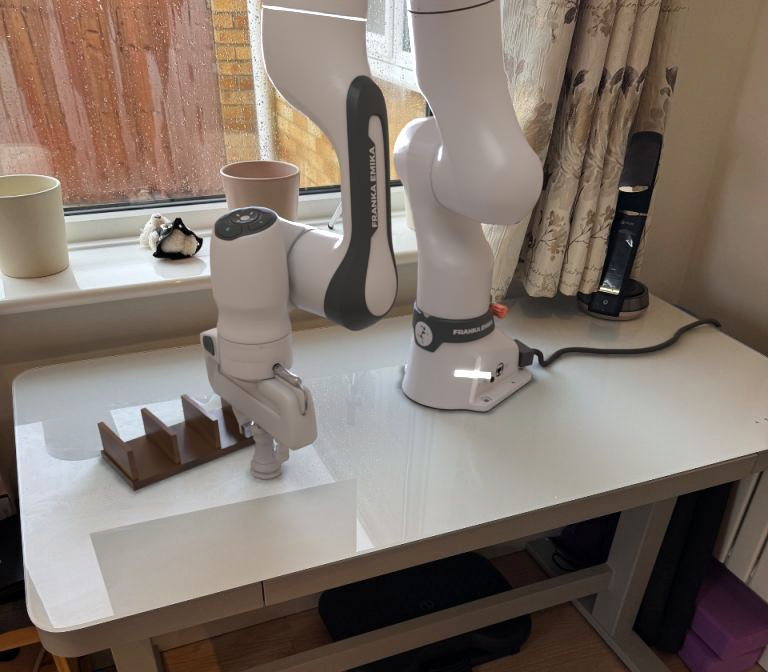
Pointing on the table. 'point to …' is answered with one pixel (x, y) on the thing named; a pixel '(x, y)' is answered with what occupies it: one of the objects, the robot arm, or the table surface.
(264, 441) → the rook chess piece
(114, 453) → the plate rack
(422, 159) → the robot arm
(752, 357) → the table surface
